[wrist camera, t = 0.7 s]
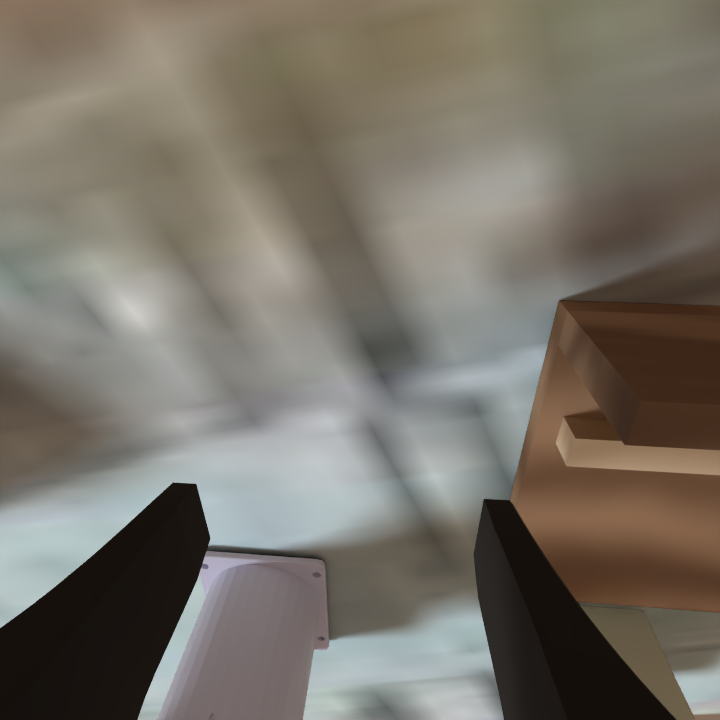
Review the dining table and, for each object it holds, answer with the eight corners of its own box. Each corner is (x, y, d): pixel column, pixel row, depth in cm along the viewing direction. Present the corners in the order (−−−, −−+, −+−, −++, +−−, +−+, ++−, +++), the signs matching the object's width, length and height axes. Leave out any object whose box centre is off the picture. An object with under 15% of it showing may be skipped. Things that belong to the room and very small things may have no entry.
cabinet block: (605, 676, 31) (649, 798, 26) (533, 670, 31) (561, 789, 26) (642, 610, 27) (704, 737, 22) (558, 603, 27) (598, 727, 22)
